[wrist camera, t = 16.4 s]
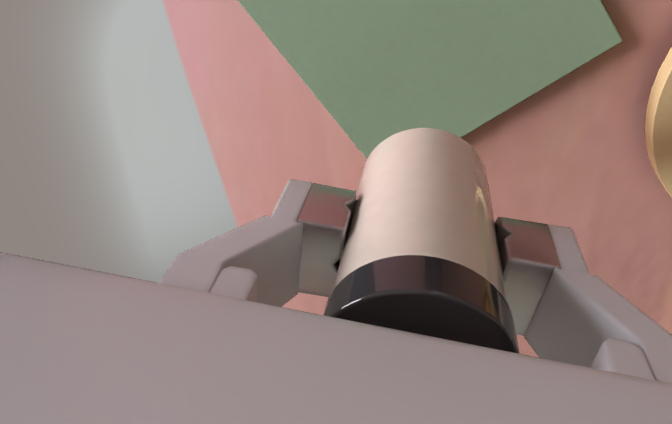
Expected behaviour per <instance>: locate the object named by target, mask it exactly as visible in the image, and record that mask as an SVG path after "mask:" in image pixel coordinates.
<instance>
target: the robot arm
mask: <svg viewBox="0 0 672 424" xmlns="http://www.w3.org/2000/svg"><path fill="white" fill-rule="evenodd" d="M356 194H357V191H352V190H347V189H342V188H336V187H331V186H326V185H321V184H316V183H313V184H312V182H306V181H300V180H294V179H291V180H289V181H288V183H287V185H286V187H285V189H284V191H283V193H282V195H281V197H280V199H279V201H278V203H277V205H276V207H275V209H274V211H273V213H272V215H271V217H270V216H263V217H260V218H258V219H256V220H254V221H251V222H249V223H247V224H245V225H242V226H240V227H238V228H236V229H234V230H231V231H229V232H227V233H224V234H222V235H220V236H218V237H215V238H213V239H211V240H209V241H207V242H204V243H202V244H200V245H197V246H195V247H193V248H191V249H188V250H186V251H184V252H182V253H179V254H178V255H177V256H176V258H175V260H174V261H173V262H172V264H171V265H170V267H169V268H168V270H167V271H166V273H165V274H164V275H163V277H162V278H161V280H160V281H159V283H156V282H151V281H145V280H140V279H136V278H131V277H125V276H120V275H115V274H110V273H105V272H100V271H94V270H90V269H85V268H79V267H74V266H69V265H64V264H59V263H54V262H49V261H44V260H39V259H34V258H28V257H23V256H18V255H13V254H8V253H3V252H0V424H672V335H671V334H670V333H669V332H667V331H666V330H665V329H664V328H662V327H661V326H660V325H659V324H657V323H656V322H655V321H653V320H652V319H651V318H650V317H648V316H647V315H646V314H645V313H643V312H642V311H641V310H640V309H638V308H637V307H636V306H634V305H633V304H632V303H631V302H629V301H628V300H627V299H626V298H624V297H623V296H622V295H621V294H619V293H618V292H617V291H615V290H614V289H613V288H612V287H610V286H609V285H608V284H607V283H605V282H604V281H603V280H601V279H600V278H599V277H598V276H595V275H590V274H589V271H588V269H587V266H586V263H585V261H584V258H583V256H582V253H581V250H580V248H579V245H578V242H577V240H576V237H575V234H574V232H573V230H572V229H571V228H570V227H564V226H556V225H549V224H542V223H536V222H529V221H522V220H516V219H509V218H503V217H498V218H497V220H496V222H495V228H496V234H497V240H498V246H499V252H500V258H501V264H502V271H503V277H504V283H505V289H506V295H507V301H508V305H509V307H510V310H511V312H512V315H513V319H514V324H515V330H516V334H519V335H523V336H525V337H524V338H525V339H526V340H527V342H528V343H529V344H530V346H531V347H532V348H533V350H534V351H535V352H536V353H537V355H538V356H539V357H540V358H539V357H534V356H529V355H523V354H518V353H513V352H508V351H503V350H498V349H493V348H488V347H483V346H477V345H472V344H467V343H462V342H457V341H452V340H447V339H442V338H437V337H432V336H426V335H421V334H416V333H411V332H406V331H401V330H396V329H391V328H386V327H381V326H375V325H370V324H365V323H360V322H355V321H350V320H345V319H340V318H335V317H330V316H324V315H319V314H314V313H309V312H304V311H299V310H294V309H289V308H284V307H282V306H283V305H284V304H285V303H287V302H288V301H289V300H290V299H292V298H293V297H294V296H296V295H297V294H298V292H301V293H307V294H313V295H319V296H325V297H329V296H330V294H331V293H332V290H333V286H334V282H335V278H336V274H337V270H338V266H339V262H340V259H341V255H342V252H343V249H344V245H345V241H346V238H347V234H348V230H349V223H350V220H351V218H352V214H353V210H354V206H355V202H356Z"/></svg>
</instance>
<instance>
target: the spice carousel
mask: <svg viewBox="0 0 672 424" xmlns="http://www.w3.org/2000/svg"><path fill="white" fill-rule="evenodd" d="M645 137H646V147H647V151H648V155H649V159H650V162H651V165H652V167H653V169H654V171H655V173H656V176H657V177H658V179H659V180H660V182H661V183H662V184H663V186H664V187H665V189H666V190H667V192H668V193H669V195H670V196H671V197H672V47H671V49H670V50H669V52H668V54H667V56H666V58H665V60H664V62H663V63H662V65H661V67H660V69H659V71H658V74H657V76H656V79H655V82H654V84H653V87H652V89H651V93H650V97H649V101H648V105H647V109H646V120H645Z"/></svg>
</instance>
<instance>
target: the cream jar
mask: <svg viewBox="0 0 672 424" xmlns="http://www.w3.org/2000/svg"><path fill="white" fill-rule="evenodd" d="M323 315H324V316H330V317H335V318H340V319H345V320H350V321H355V322H360V323H365V324H370V325H375V326H381V327H386V328H391V329H396V330H401V331H406V332H411V333H416V334H421V335H426V336H432V337H437V338H442V339H447V340H452V341H457V342H462V343H467V344H472V345H477V346H483V347H488V348H493V349H498V350H503V351H508V352H513V353H518V354H519V348H518V342H517V336H516V330H515V324H514V319H513V315H512V312H511V310H510V307H509V305H508V301H507V295H506V289H505V283H504V277H503V271H502V264H501V258H500V252H499V246H498V240H497V234H496V228H495V221H494V215H493V209H492V203H491V197H490V191H489V184H488V178H487V173H486V169H485V166H484V164H483V161H482V159H481V158H480V156H479V154H478V153H477V152H476V151H475V149H474V148H473V147H472V146H471V145H470V144H469V143H467V142H466V141H465V140H463V139H462V138H460V137H458V136H456V135H454V134H452V133H449V132H447V131H444V130H439V129H434V128H415V129H409V130H405V131H401V132H399V133H396V134H394V135H392V136H390V137H388V138H386V139H385V140H384V141H382V142H381V143H380V144H379V145H378V146H377V147H376V148H375V149H374V150H373V151H372V152H371V154H370V155H369V157H368V158H367V160H366V162H365V165H364V167H363V171H362V175H361V179H360V183H359V187H358V191H357V195H356V202H355V206H354V210H353V214H352V218H351V220H350V223H349V230H348V234H347V238H346V241H345V245H344V249H343V252H342V255H341V259H340V262H339V266H338V270H337V274H336V278H335V282H334V286H333V290H332V293H331V294H330V296H329V298H328V301H327V303H326V306H325V310H324V314H323Z"/></svg>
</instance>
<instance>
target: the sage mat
mask: <svg viewBox="0 0 672 424" xmlns="http://www.w3.org/2000/svg"><path fill="white" fill-rule="evenodd" d="M238 1H239V2H240V4H241V5H242V6H243V7H244V9H245V10H246V11H247V12H248V14H249V15H250V16H251V17H252V18H253V20H254V21H255V22H256V23H257V25H258V26H259V27H260V28H261V29H262V31H263V32H264V33H265V34H266V36H267V37H268V38H269V39H270V41H271V42H272V43H273V44H274V45H275V47H276V48H277V49H278V50H279V52H280V53H281V54H282V55H283V57H284V58H285V59H286V60H287V61H288V63H289V64H290V65H291V66H292V68H293V69H294V70H295V71H296V72H297V74H298V75H299V76H300V77H301V79H302V80H303V81H304V82H305V84H306V85H307V86H308V87H309V88H310V90H311V91H312V92H313V93H314V95H315V96H316V97H317V98H318V99H319V101H320V102H321V103H322V104H323V106H324V107H325V108H326V109H327V111H328V112H329V113H330V114H331V115H332V117H333V118H334V119H335V120H336V122H337V123H338V124H339V125H340V127H341V128H342V129H343V130H344V131H345V133H346V134H347V135H348V136H349V138H350V139H351V140H352V141H353V142H354V144H355V145H356V146H357V147H358V149H359V150H360V151H361V152H362V154H363V155H364V156H365V157H366V158H368V157H369V155H370V154H371V152H372V151H373V150H374V149H375V148H376V147H377V146H378V145H379V144H380V143H381V142H382V141H384V140H385V139H386V138H388V137H390V136H392V135H394V134H396V133H399V132H401V131H405V130H409V129H415V128H434V129H439V130H444V131H447V132H449V133H452V134H454V135H456V136H458V137H460V138H461V137H463V136H465V135H466V134H468V133H470V132H471V131H473V130H475V129H476V128H478V127H480V126H481V125H483V124H485V123H486V122H488V121H490V120H491V119H493V118H495V117H496V116H498V115H500V114H501V113H503V112H505V111H506V110H508V109H510V108H511V107H513V106H515V105H517V104H518V103H520V102H522V101H523V100H525V99H527V98H528V97H530V96H532V95H533V94H535V93H537V92H538V91H540V90H542V89H543V88H545V87H547V86H548V85H550V84H552V83H553V82H555V81H557V80H558V79H560V78H562V77H563V76H565V75H567V74H568V73H570V72H572V71H573V70H575V69H577V68H578V67H580V66H582V65H583V64H585V63H587V62H589V61H590V60H592V59H594V58H595V57H597V56H599V55H600V54H602V53H604V52H605V51H607V50H609V49H610V48H612V47H614V46H615V45H617V44H619V43H620V42H622V38H621V36H620V35H619V33H618V31H617V29H616V27H615V25H614V23H613V21H612V20H611V18H610V16H609V14H608V12H607V10H606V8H605V7H604V5H603V3H602V1H601V0H238Z"/></svg>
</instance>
